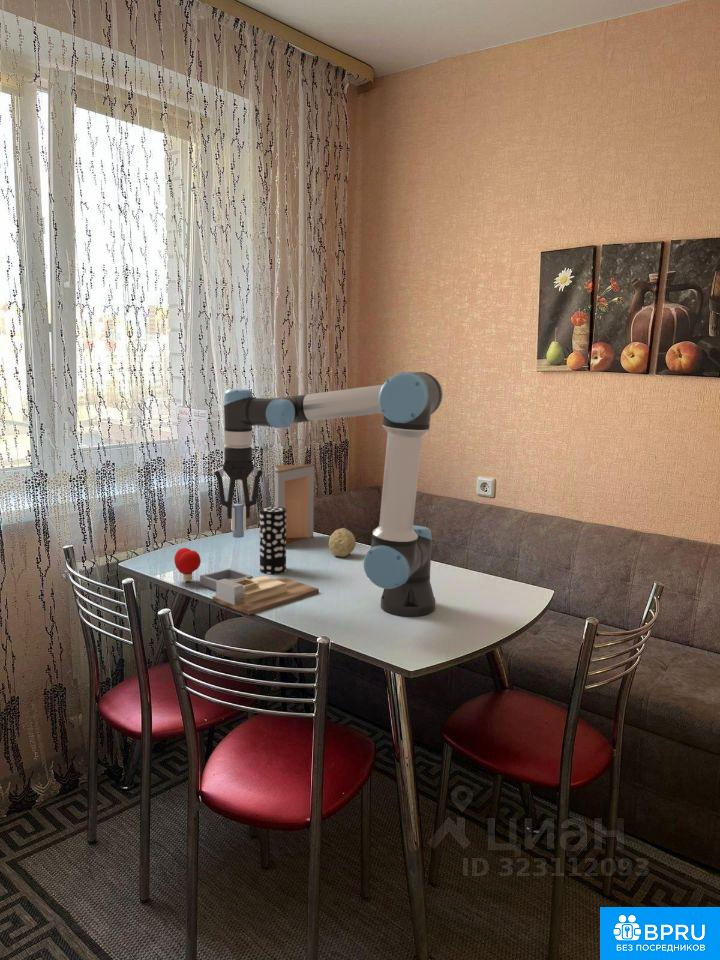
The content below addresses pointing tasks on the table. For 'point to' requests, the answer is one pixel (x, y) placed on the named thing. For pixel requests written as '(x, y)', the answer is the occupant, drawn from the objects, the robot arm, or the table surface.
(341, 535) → the coral
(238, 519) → the dowel
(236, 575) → the tray
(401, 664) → the table surface
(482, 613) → the table surface
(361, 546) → the table surface
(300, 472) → the cabinet
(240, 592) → the block
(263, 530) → the spotted tube
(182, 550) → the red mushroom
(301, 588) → the board
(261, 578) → the wooden block with recess
